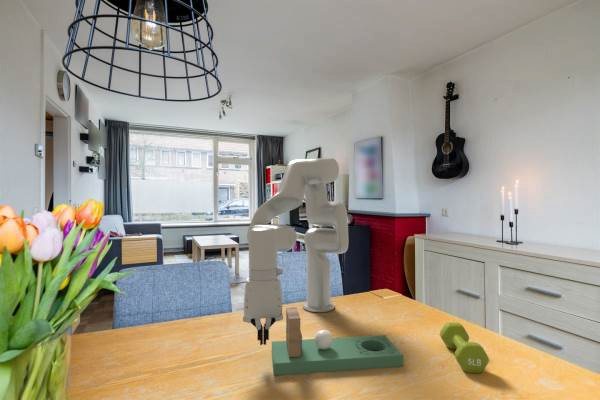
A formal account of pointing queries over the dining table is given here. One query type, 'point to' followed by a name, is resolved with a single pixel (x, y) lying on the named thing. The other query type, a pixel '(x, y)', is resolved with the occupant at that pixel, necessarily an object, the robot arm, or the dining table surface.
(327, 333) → the ball
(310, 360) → the putting mat
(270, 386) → the dining table surface
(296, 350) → the upright wooden plank
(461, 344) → the dumbbell
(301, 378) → the dining table surface
